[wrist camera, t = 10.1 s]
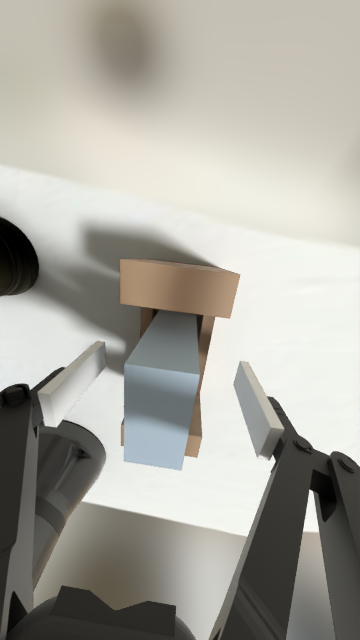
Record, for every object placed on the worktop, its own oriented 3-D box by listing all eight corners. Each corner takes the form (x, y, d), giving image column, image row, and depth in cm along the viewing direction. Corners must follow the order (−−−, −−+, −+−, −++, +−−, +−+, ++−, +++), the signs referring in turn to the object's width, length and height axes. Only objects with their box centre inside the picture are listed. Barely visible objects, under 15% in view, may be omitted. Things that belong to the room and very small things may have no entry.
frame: (144, 384, 26) (121, 445, 17) (151, 259, 19) (120, 259, 11) (195, 391, 25) (197, 457, 17) (219, 267, 19) (240, 274, 11)
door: (157, 361, 23) (124, 461, 12) (162, 305, 20) (124, 363, 9) (186, 365, 23) (181, 470, 12) (195, 309, 20) (200, 374, 9)
